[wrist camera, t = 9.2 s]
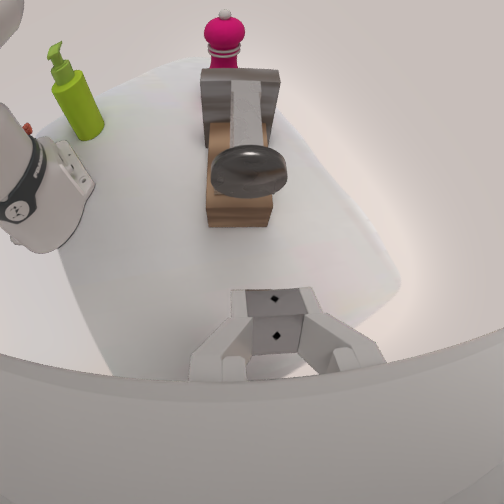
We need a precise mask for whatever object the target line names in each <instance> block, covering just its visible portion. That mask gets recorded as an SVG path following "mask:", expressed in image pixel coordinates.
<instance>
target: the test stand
mask: <svg viewBox="0 0 504 504" xmlns="http://www.w3.org/2000/svg"><path fill="white" fill-rule="evenodd" d="M231 80H246V81H260V83H261V99H260V109H261V121H262V133H263V145H264V146H265V147H268V144H269V139H270V133H271V128H272V123H273V118H274V113H275V108H276V103H277V98H278V93H279V88H280V83H281V82H280V77H279V72H278V70H271V69H251V68H207V69H202V72H201V79H200V87H201V100H202V113H203V124H204V136H205V146H206V148H209V150H208V168H207V190H206V212H207V218H208V224H209V227H267V225H268V221H269V218H270V215H271V212H272V209H273V202H272V194H271V195H268V196H264V197H260V198H251V199H243V198H234V197H230V196H227V195H224V194H214V187H213V186H212V184H211V164H212V161H213V160H214V158H215V157H216V156H217V155H218V154H219V153H221V152H223V151H224V150H226V149H229V148H230V113H231Z"/></svg>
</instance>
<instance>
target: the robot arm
mask: <svg viewBox="0 0 504 504" xmlns="http://www.w3.org/2000/svg"><path fill="white" fill-rule="evenodd" d="M23 10H24V0H0V48H1V47H2V46H3V45H4V44H5V43H6V42H7V40H8V39H9V38H10V37H11V36H12V35H13V34H14V32H15V31H16V30H17V29H18V28H19V25H20V23H21V19H22V16H23ZM30 134H32V128H31V126H30V124H29V123H26V124H25V125H24V126H23V127H21V125H20V124H19V122H18V121H17V120H16V118H15V117H14V115H13V114H12V113H11V111H10V110H9V108H8V107H7V106H6V105H4V104H3V103H0V227H1V228H2V229H3V230H4V231H5V232H7V233H8V234H9V235H10V239H11V241H12V242H13V243H14V244H15V245H23V246H25V247H26V248H28V249H29V250H30V251H32V252H34V253H38V254H43V253H48V252H51V251H53V250H55V249H57V248H58V247H60V246H61V245H62V244H63V243H64V242H65V241H66V240H67V239H68V238H69V237H70V236H71V234H72V233H73V232H74V230H75V228H76V227H77V225H78V223H79V221H80V218H81V216H82V212H83V209H84V205H85V202H86V200H87V199H88V197H89V196H90V194H91V193H92V191H93V189H94V186H95V184H94V182H93V180H92V178H91V177H90V175H89V174H88V172H87V171H86V169H85V168H84V166H83V165H82V163H81V162H80V160H79V158H78V157H77V155H76V154H75V152H74V150H73V149H72V147H71V145H70V144H69V143H68V142H67V141H66V140H64V141H59V142H56V143H54V142H53V140H52V139H51V138H50V137H47V136H46V137H41V138H39V139H36V138H33V137H32V136H31V135H30ZM85 181H86V182H85ZM84 182H85V183H84ZM280 353H298V354H299V355H300V356H301V357H302V358H303V359H304V360H305V361H306V362H307V363H308V364H309V365H310V366H311V367H312V368H313V369H314V370H315V371H317V372H318V373H319V375H312V376H303V377H293V378H282V379H269V380H253V381H247V375H246V365H247V363H248V362H249V360H250V359H251V357H252V356H253V355H266V354H280ZM0 504H504V328H502V329H499V330H497V331H494V332H492V333H489V334H486V335H483V336H481V337H478V338H475V339H472V340H470V341H466V342H464V343H460V344H457V345H454V346H451V347H447V348H444V349H441V350H437V351H434V352H430V353H427V354H423V355H419V356H416V357H411V358H407V359H403V360H399V361H394V362H390V363H387V362H386V360H385V359H384V357H383V355H382V353H381V351H380V350H379V348H378V346H377V344H376V342H374V341H372V340H371V339H369V338H368V337H366V336H364V335H363V334H361V333H359V332H358V331H356V330H355V329H353V328H351V327H350V326H348V325H346V324H345V323H343V322H341V321H340V320H338V319H336V318H335V317H333V316H331V315H330V314H328V313H323V311H322V309H321V307H320V304H319V302H318V300H317V298H316V296H315V294H314V291H313V289H312V288H311V287H304V288H294V289H276V290H272V289H265V290H231V318H227V319H226V320H225V321H224V322H223V323H222V324H221V325H220V326H219V327H218V328H217V329H216V330H215V331H214V332H213V334H212V335H211V336H210V337H209V338H208V339H207V340H206V341H205V342H204V343H203V344H202V345H201V346H200V347H199V348H198V349H197V350H196V351H195V352H194V353H193V354H192V355H191V359H190V368H189V378H188V381H164V380H148V379H136V378H125V377H116V376H107V375H99V374H93V373H86V372H79V371H73V370H67V369H63V368H57V367H52V366H48V365H43V364H39V363H34V362H30V361H26V360H22V359H18V358H14V357H11V356H7V355H4V354H0Z"/></svg>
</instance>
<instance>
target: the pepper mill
mask: <svg viewBox="0 0 504 504" xmlns="http://www.w3.org/2000/svg"><path fill="white" fill-rule="evenodd" d="M244 36H245V29H244V25H243V24H242V22H240V21H239V20H238V19H236V18H233V17H231V12H230V11H229V10H226V9H224V10H222V11H220V12H219V17H217V18H215V19H212V20H211V21H210V22H209V23H208V24H207V25H206V27H205V30H204V37H205V39H206V41H207V42H208V43H209V44H208V53H209V54H210V55H211V65H210V68H238V66H237V54H239V52H240V46H241V44H240V42H241V41H242V40H243V38H244Z"/></svg>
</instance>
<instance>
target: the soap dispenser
mask: <svg viewBox="0 0 504 504" xmlns="http://www.w3.org/2000/svg"><path fill="white" fill-rule="evenodd" d="M61 44H62V41H61V42H59V43H57V44H55V45H53V46H51V47H50V49H49V51H48V55H47V59H48V60H50V59H51V61H52V63H53V65H54V66H53V68H52V69H51V74H52V76H53V78H54V80H55V83H54V85H53V86H52V93H53V95H54V96H55V98H56V100H57V102H58V104H59V106H60V107H61V109H62V111H63V112H64V114H65V116H66V118H67V120H68V121H69V123H70V125H71V127H72V128H73V130H74V132H75V133H76V135H77V137H78V138H79V139H80V140H82V141H88V140H91V139H93V138H95V137H96V136H97V135H98V134H100V132H101V131H102V130H103V128H104V121H103V118H102V116H101V114H100V112H99V110H98V107H97V105H96V103H95V101H94V98H93V96H92V94H91V92H90V89H89V87H88V85H87V82H86V80H85V77H84V75H83V73H82V71H80V70H75V71H73V69H72V66H71V64H70V62H69V60H63V59H62V57H61V54H60V52H59V51H60V47H61Z"/></svg>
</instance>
